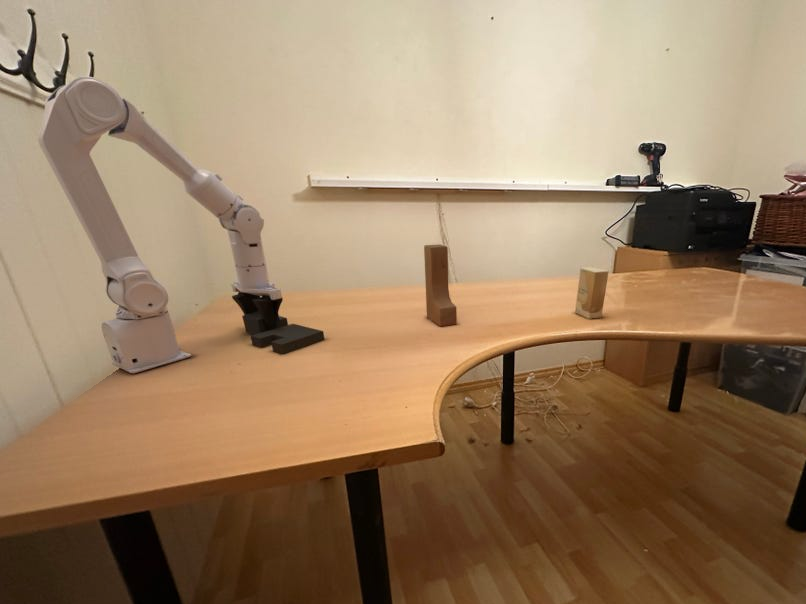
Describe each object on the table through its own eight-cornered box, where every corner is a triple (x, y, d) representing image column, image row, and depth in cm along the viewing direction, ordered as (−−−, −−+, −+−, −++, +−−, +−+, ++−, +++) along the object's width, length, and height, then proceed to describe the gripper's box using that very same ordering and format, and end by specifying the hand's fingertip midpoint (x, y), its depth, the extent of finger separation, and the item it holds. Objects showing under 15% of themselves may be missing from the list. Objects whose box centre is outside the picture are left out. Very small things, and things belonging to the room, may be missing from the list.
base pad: (283, 354, 78) (281, 344, 78) (252, 344, 83) (250, 335, 82) (324, 339, 86) (323, 330, 86) (294, 331, 91) (293, 323, 90)
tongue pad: (261, 337, 87) (257, 320, 85) (246, 332, 89) (242, 315, 88) (292, 327, 93) (289, 310, 91) (277, 322, 95) (274, 306, 94)
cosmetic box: (574, 313, 108) (579, 267, 104) (587, 311, 110) (592, 266, 106) (589, 319, 103) (595, 271, 98) (602, 317, 105) (609, 270, 100)
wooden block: (457, 324, 98) (456, 248, 91) (440, 326, 96) (438, 249, 89) (442, 315, 105) (440, 244, 98) (426, 317, 103) (423, 245, 96)
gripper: (289, 265, 84) (300, 327, 89) (248, 259, 91) (260, 317, 96) (258, 270, 79) (271, 336, 84) (216, 263, 85) (230, 325, 90)
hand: (263, 326), depth 90 cm, fingers closed on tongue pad, 5 cm apart
